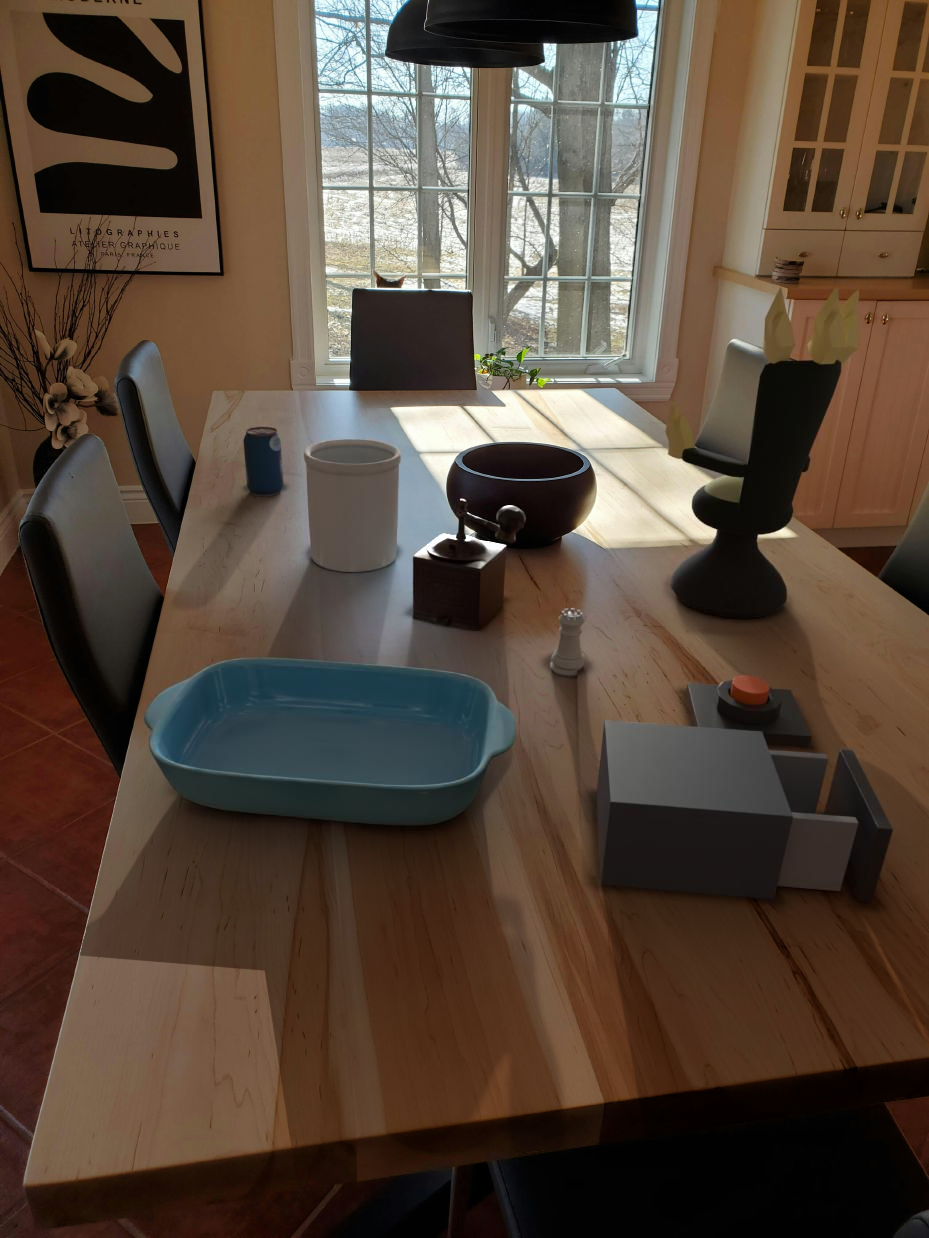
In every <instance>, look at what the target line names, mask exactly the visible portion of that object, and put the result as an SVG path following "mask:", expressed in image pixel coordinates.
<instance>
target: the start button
mask: <svg viewBox="0 0 929 1238" xmlns="http://www.w3.org/2000/svg"><path fill="white" fill-rule="evenodd" d="M732 680H733V682H732V687H731V693H730V696H731V697H732V698H733V699H735V700H736V701H738V702H741V703H744V704H747V705H762V704H766V702H767V699H768V694H769V689H770V687H771V686H770V684H769V683H768V682H767V681H766V680H764V679H763V678H760V677H757V676H755V675H754V676H753V675H747V674H746V675H745V674H744V675H738V676H735V677H734V678H733V679H732Z"/></svg>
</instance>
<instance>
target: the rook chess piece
mask: <svg viewBox="0 0 929 1238" xmlns="http://www.w3.org/2000/svg"><path fill="white" fill-rule="evenodd" d="M557 620H558V621H559V623H560V625H561V627H559V629H558V630H559V632H560V636H559V641H558V644H557V648H556V649H555V650H554V653H552V655H551V657H550V661H551V662H550V663H549V667H550V669H551V670H552V672H553V673H554V674H555V675H557V676H560V677H563V678H576V677H578V671H580V670H582V668H583V667H584V665H586V657H585V656H584V655H583V651H582V648H581V634H582V633H583V630H582V628H581V627H582V625H583V624H584V623H585V622H586V619H585V617H584V616H583V612H582V610H581V609H577V610H576V608H574V607H571V608H570V611H569V608H564V609H563V610H562V611H561V614H560V615H559V616H558V619H557Z"/></svg>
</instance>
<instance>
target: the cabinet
mask: <svg viewBox="0 0 929 1238" xmlns="http://www.w3.org/2000/svg"><path fill="white" fill-rule="evenodd" d="M601 738H602V739H601V748H600V749H601V750H600V758H599V768H598V775H597V776H598V777H597V786H596V793H595V795H596V796H595V797H596V814H597V815H596V816H597V817H596V818H597V819H596V820H597V837H598V853H599V855H598V856H599V873H600V874H599V875H600V885H602V886H613V887H614V886H615V887H626V888H636V889H646V890H647V889H649V890H660V891H669V892H670V891H672V892H682V893H692V894H693V893H694V894H703V895H714V896H715V895H716V896H728V897H738V898H739V897H740V898H749V899H761V900H772V901H773V900H775V898H776V894H777V889H778V886H777V885H778V881H779V876H780V872H781V868H782V863H783V859H784V854H785V850H786V846H787V841H788V837H789V833H790V828H791V824H792V819H793V815H792V812H791V810H790V807H789V804H788V801H787V799H786V796H785V793H784V790H783V788H782V785H781V782H780V779H779V776H778V774H777V771H776V768H775V765H774V763H773V760H772V757H771V754H770V752H769V750H770V749H769V746H768V744H767V743H766V741H765V738H764V735H763V732H760V731H746V730H733V729H719V728H705V727H694V726H690V725H677V724H663V723H650V722H636V721H625V720H624V721H623V720H609V719H604V721H603V729H602V737H601Z"/></svg>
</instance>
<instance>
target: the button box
mask: <svg viewBox="0 0 929 1238" xmlns="http://www.w3.org/2000/svg"><path fill="white" fill-rule="evenodd" d="M732 682H733V679H728V680H724V681H722V682H720V684H715V683H701V682H697V683H696V682H686V689H685V695H686V699H687V704H688V708H689V712H690V715H691V720H692V724H693V727H705V728H719V729H733V730H746V731H760V732H763V735H764V738H765V741H766V743H767V745H772V746H773V745H774V746H775V745H776V746H787V747H799V748H810V746H811V742H812V737H813V736H812V734H811V731H810V729H809V727H808V724H807V723H806V721H805V718H804V716H803V713H802V712H801V709H800V707H799V705H798V702H797V701H796V698H795V696H794V694H793V692H792V690H791V689H786V688H773V687H771V686H770V689H769V694H768V699H767V702H766V704H762V705H747V704H744V703H741V702H738V701H736V700H735V699H733V698H732V697H731V696H730V693H731V687H732Z"/></svg>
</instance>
